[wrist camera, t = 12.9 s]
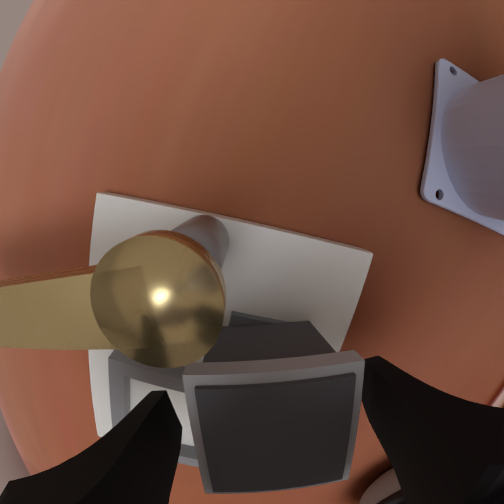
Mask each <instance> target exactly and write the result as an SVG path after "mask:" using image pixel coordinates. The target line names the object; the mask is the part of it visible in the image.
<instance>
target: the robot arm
mask: <svg viewBox="0 0 504 504" xmlns="http://www.w3.org/2000/svg"><path fill="white" fill-rule="evenodd" d="M450 70H451V71H452V73H453V74H452V73H451V72H450ZM437 190H438V192H439V197H438V199H437V198H436V191H437ZM420 194H421V197H422V198H423V199H424V200H425V201H427V202H429V203H432V204H434V205H437V206H439V207H442V208H444V209H446V210H449V211H451V212H453V213H456V214H458V215H460V216H463V217H465V218H467V219H469V220H472V221H474V222H476V223H478V224H480V225H482V226H485V227H487V228H489V229H491V230H493V231H495V232H497V233H499V234H501V235H503V236H504V74H502V75H499V76H496V77H493V78H490V79H487V80H484V81H481V82H479V81H478V80H476V79H475V78H473V77H472V76H471V75H469V74H468V73H466V72H465V71H463V70H462V69H460V68H459V67H457V66H455V65H454V64H452V63H451V62H449V61H447V60H446V59H439V60H438V61H436V65H435V85H434V99H433V110H432V119H431V127H430V135H429V142H428V149H427V155H426V161H425V166H424V172H423V177H422V182H421V187H420ZM364 360H365V365H364V377H363V388H362V403H363V405H364V408H365V411H366V414H367V417H368V419H369V422H370V424H371V426H372V428H373V430H374V432H375V433H376V435H377V437H378V439H379V441H380V443H381V445H382V447H383V449H384V451H385V453H386V454H387V456H388V458H389V460H390V462H391V464H392V466H393V469H394V471H395V473H396V476H397V479H398V482H399V485H400V488H401V491H402V494H403V497H404V500H405V504H504V408H499V407H492V406H487V405H483V404H479V403H474V402H471V401H467V400H464V399H461V398H458V397H455V396H453V395H450V394H447V393H445V392H443V391H440V390H438V389H436V388H434V387H432V386H430V385H428V384H426V383H424V382H422V381H420V380H418V379H416V378H415V377H413V376H411V375H409V374H408V373H406V372H404V371H403V370H401V369H399V368H398V367H396V366H395V365H393V364H391V363H390V362H388V361H387V360H385V359H383V358H382V357H380V356H375V357H371V358H368V359H364ZM182 428H183V427H182V425H181V423H180V421H179V418H178V416H177V414H176V412H175V409H174V407H173V405H172V403H171V400H170V398H169V395H168V393H167V391H166V390H158V391H151V392H150V393H148V394H147V395H146V396H145V397H144V398H143V399H142V400H141V401H140V402H139V403H138V404H137V405H136V406H135V407H134V408H133V409H132V410H131V411H130V412H129V413H128V414H127V415H126V416H125V417H124V418H123V419H122V420H121V421H120V422H119V423H118V424H117V425H115V426H114V427H113V428H112V429H111V430H110V431H109V432H107V433H106V434H105V435H104V436H103V437H102V438H100V439H99V440H98V441H97V442H95V443H94V444H93V445H91V446H90V447H88V448H87V449H85V450H84V451H82V452H81V453H79V454H78V455H76V456H74V457H72V458H71V459H69V460H67V461H65V462H63V463H61V464H60V465H57V466H55V467H53V468H51V469H48V470H46V471H43V472H41V473H38V474H35V475H32V476H28V477H25V478H21V479H17V480H13V481H9V482H8V484H7V485H6V487H5V489H4V490H3V492H2V494H1V496H0V504H168V503H169V497H170V492H171V488H172V484H173V480H174V475H175V471H176V467H177V463H178V459H179V454H180V450H181V441H182Z"/></svg>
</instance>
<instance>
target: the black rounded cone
mask: <svg viewBox="0 0 504 504" xmlns="http://www.w3.org/2000/svg"><path fill="white" fill-rule="evenodd" d="M359 504H405V500H404V497H403V494H402V491H401V488H400V485H399V482H398V479H397V476H396V473H395V471H394V469H393V468H392V469H390V470H388V471H387V472H385V473H384V474H382V475H381V476H380V477H379V478H377V479H376V480H375V481H374V482H373V483H372V484H371V485H370V486H369V487H368V488H367V490H366V491H365V492H364V494H363V496H362V498H361V500H360V502H359Z"/></svg>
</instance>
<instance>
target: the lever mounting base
mask: <svg viewBox="0 0 504 504" xmlns="http://www.w3.org/2000/svg"><path fill="white" fill-rule="evenodd" d="M151 230H169V231H175V232H178V233H181V234H184V235H186V236H188V237H190V238H192V239H193V240H195V241H197V242H198V243H199V244H201V245H202V246H203V247H204V248H205V249H206V250H207V251H208V252H209V253H210V254H211V255H212V256H213V258H214V259H215V261H216V262H217V264H218V266H219V267H220V269H221V272H222V274H223V277H224V280H225V284H226V292H227V299H226V307H225V313H224V319H223V325H222V326H229V321H230V317H231V313H232V311H236V312H241V313H245V314H250V315H255V316H261V317H266V318H271V319H276V320H282V321H287V322H298V321H310V322H311V323H312V325H313V326H314V327H315V328H316V329H317V330H318V332H319V333H320V334H321V335H322V336H323V337H324V338H325V340H326V341H327V342H328V343H329V344H330V345H331V347H332V348H333V349H334V350H335V351H336V352H340V349H341V347H342V344H343V342H344V339H345V336H346V334H347V331H348V328H349V326H350V323H351V320H352V318H353V315H354V312H355V309H356V306H357V304H358V301H359V298H360V295H361V292H362V289H363V286H364V283H365V280H366V276H367V273H368V270H369V267H370V264H371V260H372V257H373V253H371V252H369V251H368V250H366V249H364V248H360V247H356V246H352V245H348V244H344V243H340V242H336V241H332V240H328V239H324V238H319V237H315V236H311V235H307V234H303V233H299V232H294V231H290V230H286V229H282V228H277V227H273V226H269V225H264V224H260V223H255V222H251V221H247V220H242V219H238V218H233V217H229V216H224V215H219V214H215V213H210V212H205V211H201V210H196V209H191V208H186V207H181V206H177V205H172V204H167V203H162V202H157V201H152V200H147V199H142V198H137V197H131V196H126V195H121V194H116V193H110V192H100V193H97V196H96V202H95V210H94V217H93V226H92V235H91V246H90V258H89V266H91V265H97V264H98V263H99V261H100V259H101V258H102V257H103V256H104V255H105V253H107V252H108V251H109V250H110V249H111V248H112V247H114V246H116V245H117V244H119V243H121V242H123V241H125V240H127V239H129V238H131V237H133V236H135V235H137V234H140V233H142V232H146V231H151ZM88 352H89V368H90V380H91V390H92V399H93V407H94V415H95V421H96V428H97V434H98V436H100V437H103V436H104V435H105V434H106V433H107V432H109V431H110V430H111V429H112V428H113V427H114V426H115V425H117V424H118V423H119V422H120V421H121V420H122V419H123V418H124V417H125V416H126V415H127V414H128V413H129V412H130V411H131V410H132V409H133V408H134V407H135V406H136V405H137V404H138V403H139V402H140V401H141V400H142V399H143V398H144V397H145V396H146V395H147V394H148V393H150V392H151V391H158V390H166V391H167V393H168V395H169V398H170V400H171V403H172V405H173V407H174V409H175V412H176V414H177V416H178V418H179V421H180V423H181V425H182V427H183V428H182V441H181V450H180V454H179V459H178V463H181V464H186V465H191V466H196V467H199V465H198V460H197V456H196V451H195V446H194V441H193V436H192V431H191V426H190V420H189V415H188V409H187V403H186V397H185V391H184V384H183V378H182V374H183V372H184V369H185V367H186V365H185V366H181V367H176V368H157V367H151V366H147V365H144V364H141V363H139V362H136V361H134V360H132V359H130V358H129V357H127V356H126V355H124V354H123V353H121V352H120V351H119V350H117V349H104V350H88ZM203 359H204V356H203V357H201V358H200V359H198V360H197V361H195V362H193V363H202V362H203Z"/></svg>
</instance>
